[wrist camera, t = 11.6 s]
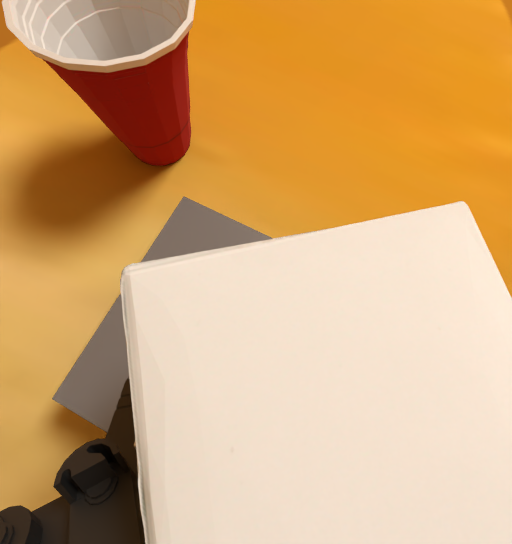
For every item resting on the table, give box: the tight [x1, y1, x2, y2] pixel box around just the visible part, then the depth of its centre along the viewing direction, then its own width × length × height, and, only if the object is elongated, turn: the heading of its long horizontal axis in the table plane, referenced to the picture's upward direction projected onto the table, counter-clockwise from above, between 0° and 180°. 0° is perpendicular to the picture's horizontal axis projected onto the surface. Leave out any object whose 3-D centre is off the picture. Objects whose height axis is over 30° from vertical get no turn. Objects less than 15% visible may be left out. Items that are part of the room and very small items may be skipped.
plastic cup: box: [2, 0, 196, 166], centre depth 22 cm, size 11×11×12 cm
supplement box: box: [120, 201, 512, 544], centre depth 11 cm, size 7×7×13 cm
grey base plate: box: [52, 197, 273, 432], centre depth 20 cm, size 24×16×5 cm, turn 63°
